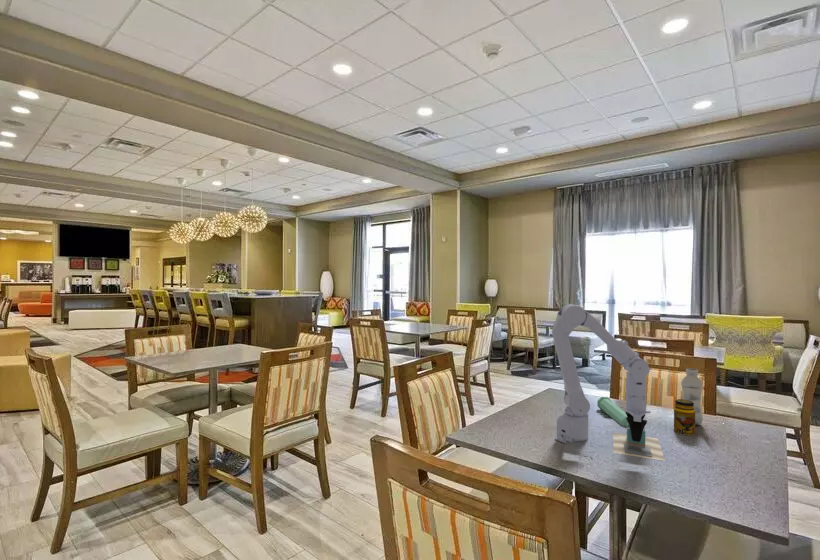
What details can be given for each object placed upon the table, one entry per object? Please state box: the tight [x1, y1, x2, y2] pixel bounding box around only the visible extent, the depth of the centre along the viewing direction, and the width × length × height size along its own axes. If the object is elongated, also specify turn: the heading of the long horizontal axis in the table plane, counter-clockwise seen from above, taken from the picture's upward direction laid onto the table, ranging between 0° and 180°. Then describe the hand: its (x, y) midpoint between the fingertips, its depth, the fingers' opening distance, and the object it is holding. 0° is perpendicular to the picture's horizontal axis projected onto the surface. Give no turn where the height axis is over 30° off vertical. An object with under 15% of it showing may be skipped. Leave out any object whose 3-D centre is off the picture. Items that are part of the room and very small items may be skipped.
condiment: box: [673, 398, 696, 436], centre depth 145 cm, size 7×8×12 cm
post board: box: [612, 431, 666, 462], centre depth 132 cm, size 19×13×4 cm
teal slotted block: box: [626, 424, 646, 444], centre depth 136 cm, size 5×5×4 cm
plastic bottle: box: [681, 368, 704, 426], centre depth 157 cm, size 6×7×20 cm
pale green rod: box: [597, 396, 629, 427], centre depth 161 cm, size 6×6×25 cm
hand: (635, 438), depth 136 cm, fingers closed on teal slotted block, 5 cm apart
